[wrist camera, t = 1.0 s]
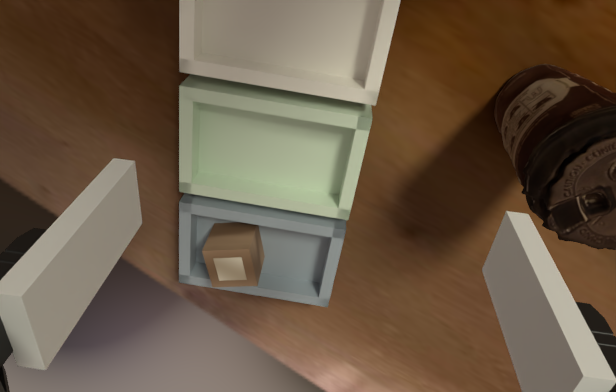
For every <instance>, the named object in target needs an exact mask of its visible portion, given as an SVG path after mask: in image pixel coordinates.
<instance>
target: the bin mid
mask: <svg viewBox="0 0 616 392" xmlns="http://www.w3.org/2000/svg"><path fill="white" fill-rule="evenodd" d="M371 123H372V109H371V105H369V104H363V103H358V102H352V101H346V100H340V99H334V98H328V97H323V96H317V95H311V94H305V93H299V92H293V91H288V90H282V89H276V88H270V87H264V86H258V85H253V84H247V83H241V82H235V81H229V80H223V79H218V78H212V77H206V76H200V75H194V74H190V75H189V76H188V77H187V78H186V79H185V80H184V81H183V82H182V83H181V84H180V85H179V192H183V193H189V194H195V195H201V196H207V197H213V198H219V199H225V200H231V201H237V202H243V203H249V204H254V205H260V206H266V207H272V208H278V209H284V210H290V211H296V212H302V213H308V214H314V215H320V216H326V217H332V218H338V219H343V220H348V219H349V215H350V211H351V207H352V203H353V198H354V194H355V190H356V186H357V182H358V177H359V173H360V169H361V165H362V161H363V156H364V152H365V148H366V144H367V140H368V135H369V131H370V127H371Z"/></svg>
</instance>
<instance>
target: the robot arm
mask: <svg viewBox="0 0 616 392" xmlns="http://www.w3.org/2000/svg"><path fill="white" fill-rule="evenodd" d="M141 224H142V216H141V208H140V199H139V191H138V182H137V174H136V165H135V161H132V160H124V159H117V158H113V159H112V160H111V162H110V163H109V164H108V165H107V166H106V167H105V168H104V169H103V170H102V171H101V172H100V173H99V174H98V176H97V177H96V178H95V179H94V180H93V181H92V182H91V183H90V184H89V185H88V186H87V187H86V188H85V190H84V191H83V192H82V193H81V194H80V195H79V196H78V197H77V198H76V199H75V200H74V201H73V203H72V204H71V205H70V206H69V207H68V208H67V209H66V210H65V211H64V212H63V213H62V214H61V215H60V217H59V218H58V219H57V220H56V221H55V222H54V223H53V224H52V225H51V226H50V227H49V228H48V229H47V230H45V229H38V228H33V229H32V230H30V231H28V232H26V233H24V234H23V235H21V236H19V237H17V238H16V239H15V240H14V241H13V242H12V243H11V244H10V245H9V246H8V247H7V248H6V249H5V252H2V253H1V254H0V392H10V391H9V386H8V381H7V376H6V372H5V369H4V366H3V364H4V363H5V361H6V360H7V358H8V357H9V356H10V355H11V353H13V355H14V358H15V361H16V363H17V366H20V367H27V368H34V369H40V370H46V369H47V368H48V366H49V365H50V363H51V361H52V360H53V359H54V357H55V355H56V354H57V352H58V351H59V349H60V348H61V346H62V345H63V343H64V342H65V340H66V339H67V337H68V336H69V334H70V333H71V331H72V330H73V328H74V326H75V325H76V323H77V322H78V320H79V319H80V317H81V316H82V314H83V313H84V311H85V310H86V308H87V307H88V305H89V304H90V302H91V301H92V299H93V297H94V296H95V295H96V293H97V292H98V290H99V288H100V287H101V285H102V284H103V282H104V281H105V279H106V278H107V276H108V275H109V273H110V272H111V270H112V269H113V267H114V266H115V264H116V263H117V261H118V260H119V258H120V256H121V255H122V253H123V252H124V250H125V249H126V247H127V246H128V244H129V243H130V241H131V240H132V238H133V237H134V235H135V234H136V232H137V231H138V229H139V228H140V226H141ZM482 272H483V275H484V278H485V281H486V284H487V287H488V290H489V293H490V296H491V299H492V302H493V305H494V308H495V311H496V314H497V317H498V320H499V323H500V326H501V329H502V332H503V335H504V338H505V341H506V344H507V347H508V350H509V353H510V356H511V359H512V362H513V365H514V369H515V372H516V375H517V378H518V381H519V384H520V387H521V390H522V392H616V337H615V336H613V332H612V330H611V328H610V327H609V325H608V323H607V322H606V320H605V318H604V317H603V316H602V315H601V314H600V313H599V312H598V311H597V310H596V309H595V308H593V307H592V306H591V305H590V304H587V303H580V302H575V301H574V299H573V297H572V295H571V293H570V291H569V289H568V288H567V286H566V284H565V282H564V280H563V278H562V276H561V274H560V273H559V271H558V269H557V267H556V265H555V263H554V261H553V259H552V258H551V256H550V254H549V252H548V250H547V248H546V246H545V244H544V243H543V241H542V239H541V237H540V235H539V233H538V231H537V229H536V228H535V226H534V224H533V222H532V220H531V218H530V216H529V214H524V213H517V212H509V211H506V213H505V215H504V218H503V220H502V223H501V225H500V228H499V230H498V232H497V235H496V237H495V240H494V242H493V245H492V247H491V249H490V252H489V254H488V257H487V259H486V261H485V264H484V266H483V269H482Z"/></svg>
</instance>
